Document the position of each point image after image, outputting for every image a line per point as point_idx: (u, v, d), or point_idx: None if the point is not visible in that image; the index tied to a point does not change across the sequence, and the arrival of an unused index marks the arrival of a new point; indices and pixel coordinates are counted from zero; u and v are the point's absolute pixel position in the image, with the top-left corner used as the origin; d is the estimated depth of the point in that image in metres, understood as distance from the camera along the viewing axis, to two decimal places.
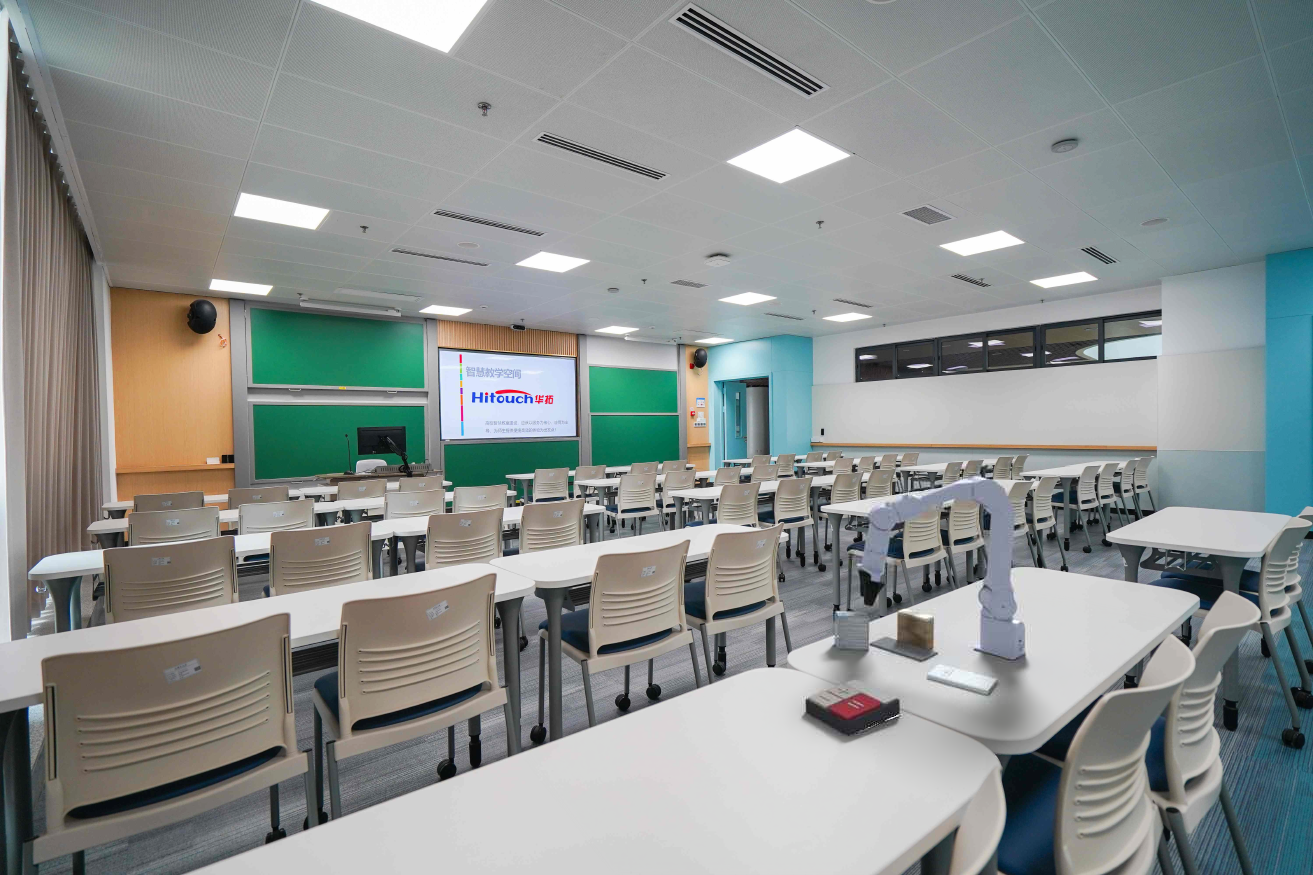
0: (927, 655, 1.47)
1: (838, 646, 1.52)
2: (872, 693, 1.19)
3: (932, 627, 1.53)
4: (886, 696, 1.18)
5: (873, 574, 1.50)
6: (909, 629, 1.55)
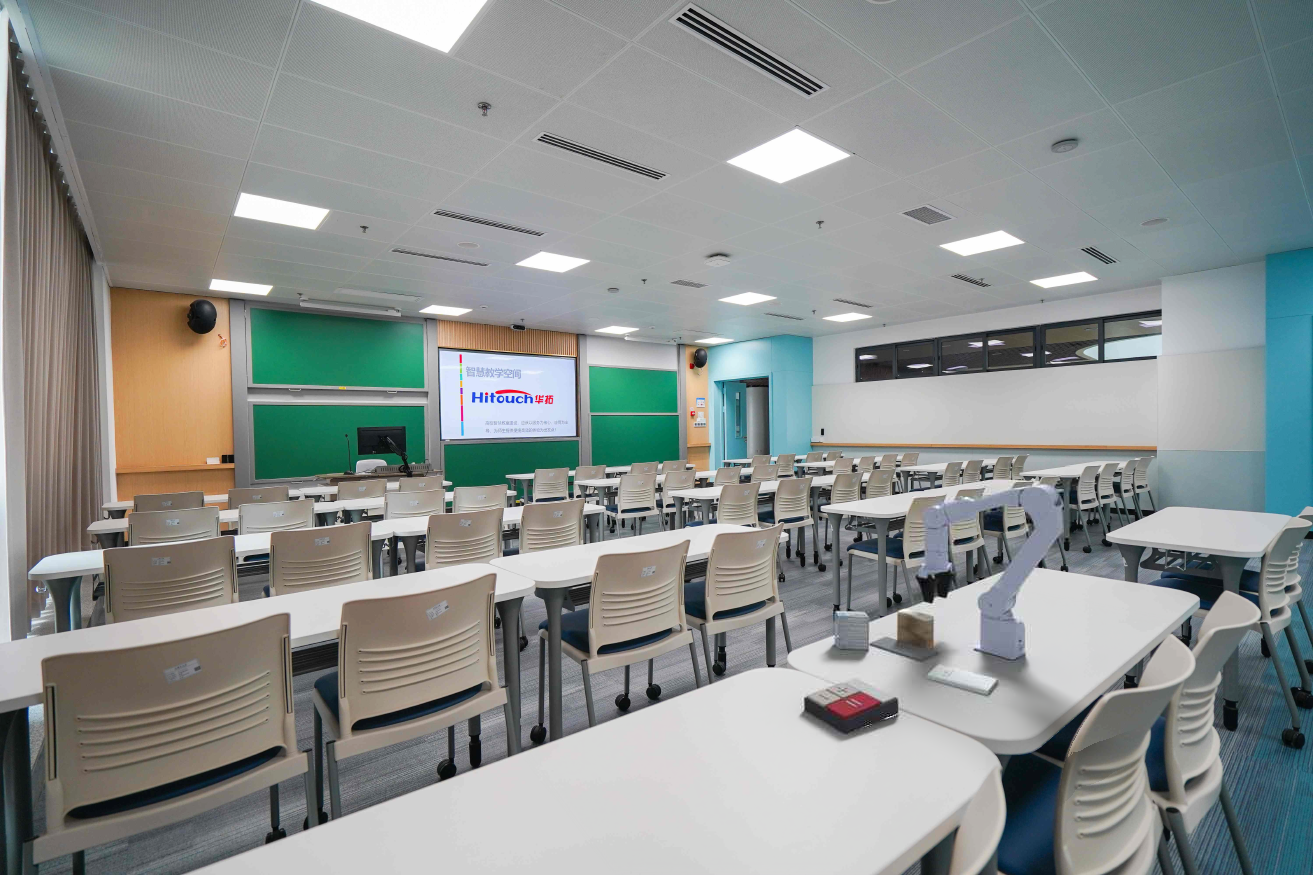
0: (927, 655, 1.47)
1: (838, 646, 1.52)
2: (871, 692, 1.20)
3: (932, 627, 1.53)
4: (885, 695, 1.18)
5: (919, 570, 1.58)
6: (909, 629, 1.55)
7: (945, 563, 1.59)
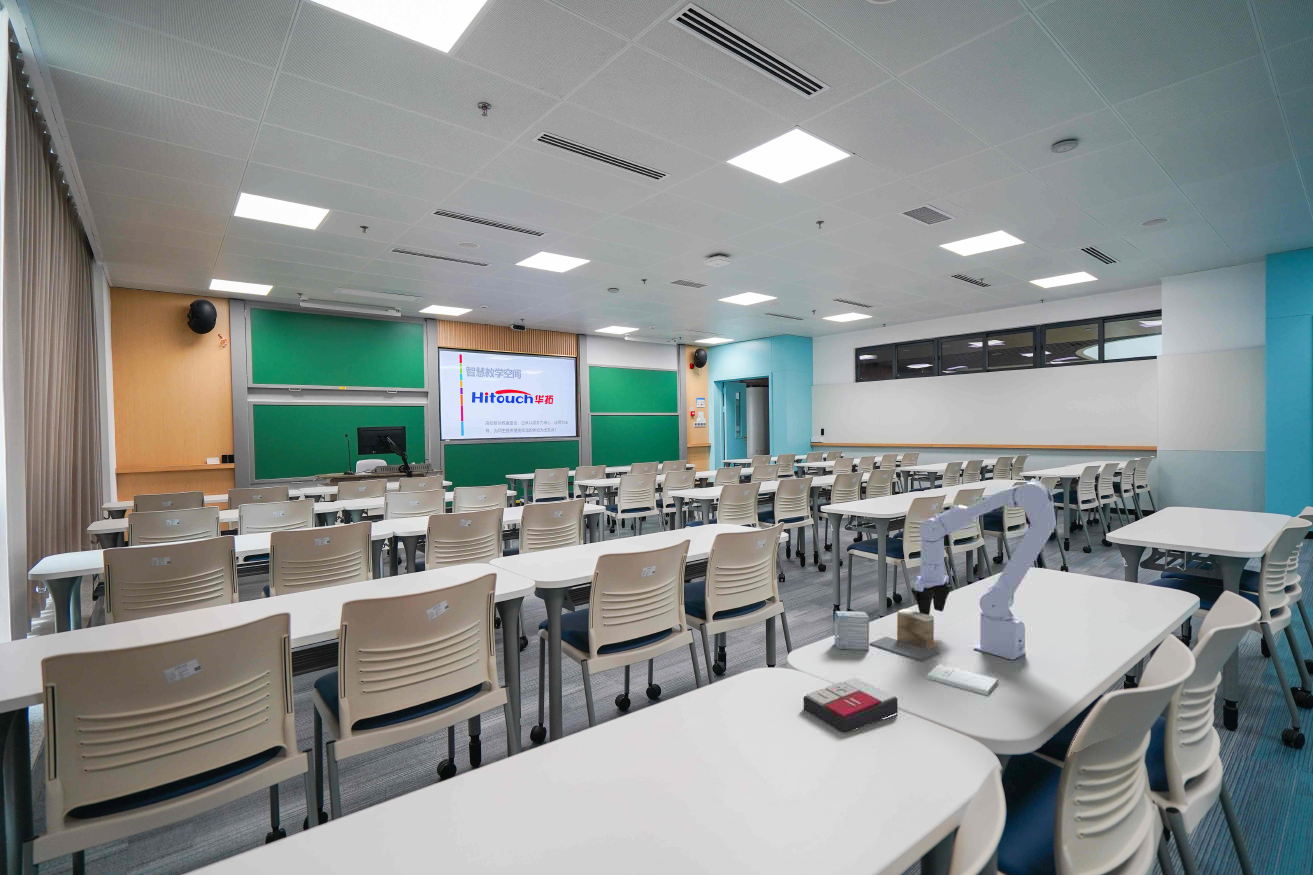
0: (927, 655, 1.47)
1: (838, 646, 1.52)
2: (870, 691, 1.20)
3: (932, 627, 1.53)
4: (884, 694, 1.18)
5: (915, 584, 1.57)
6: (909, 629, 1.55)
7: (941, 576, 1.58)
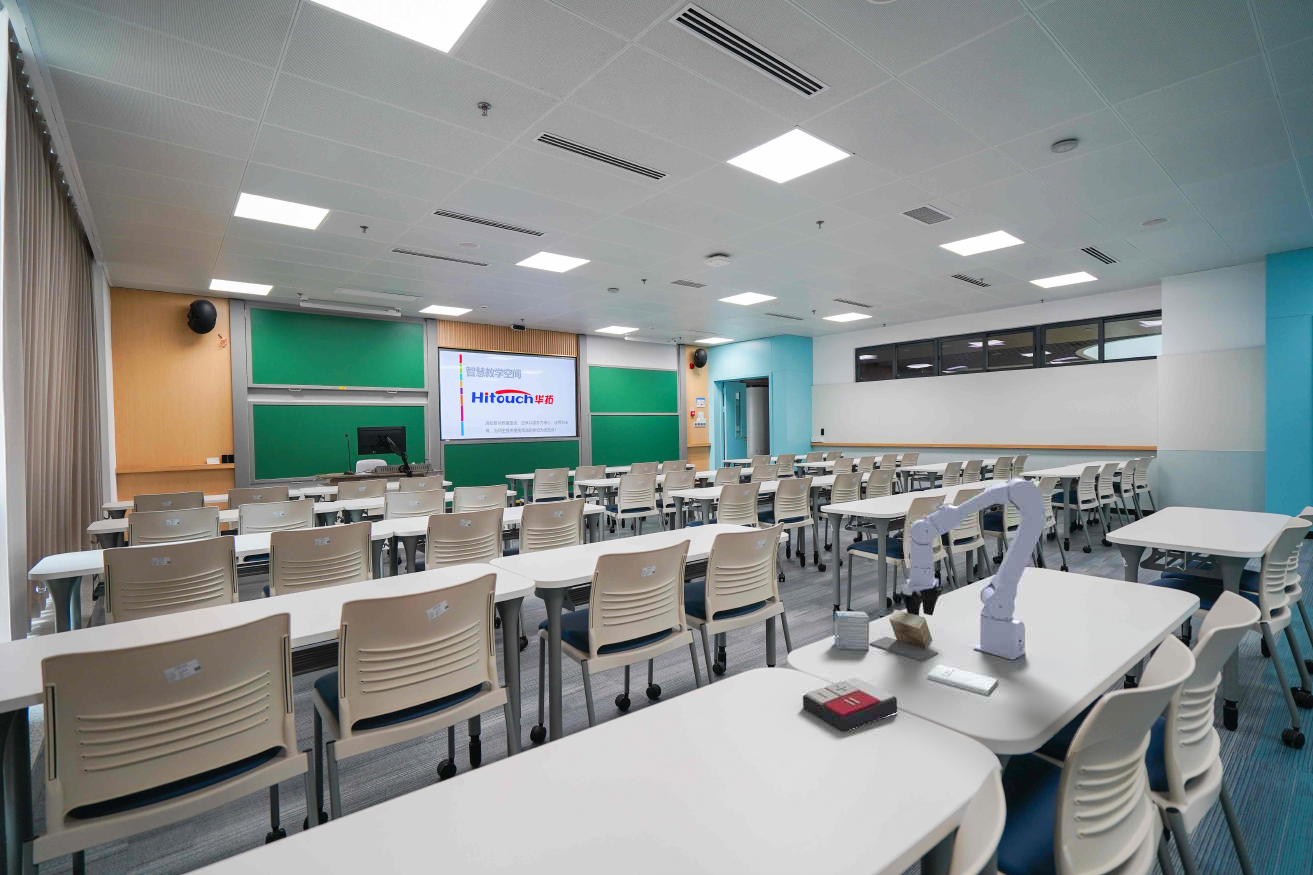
0: (927, 655, 1.47)
1: (838, 646, 1.52)
2: (870, 691, 1.20)
3: (926, 627, 1.51)
4: (884, 694, 1.19)
5: (904, 587, 1.53)
6: (905, 633, 1.54)
7: (930, 579, 1.55)
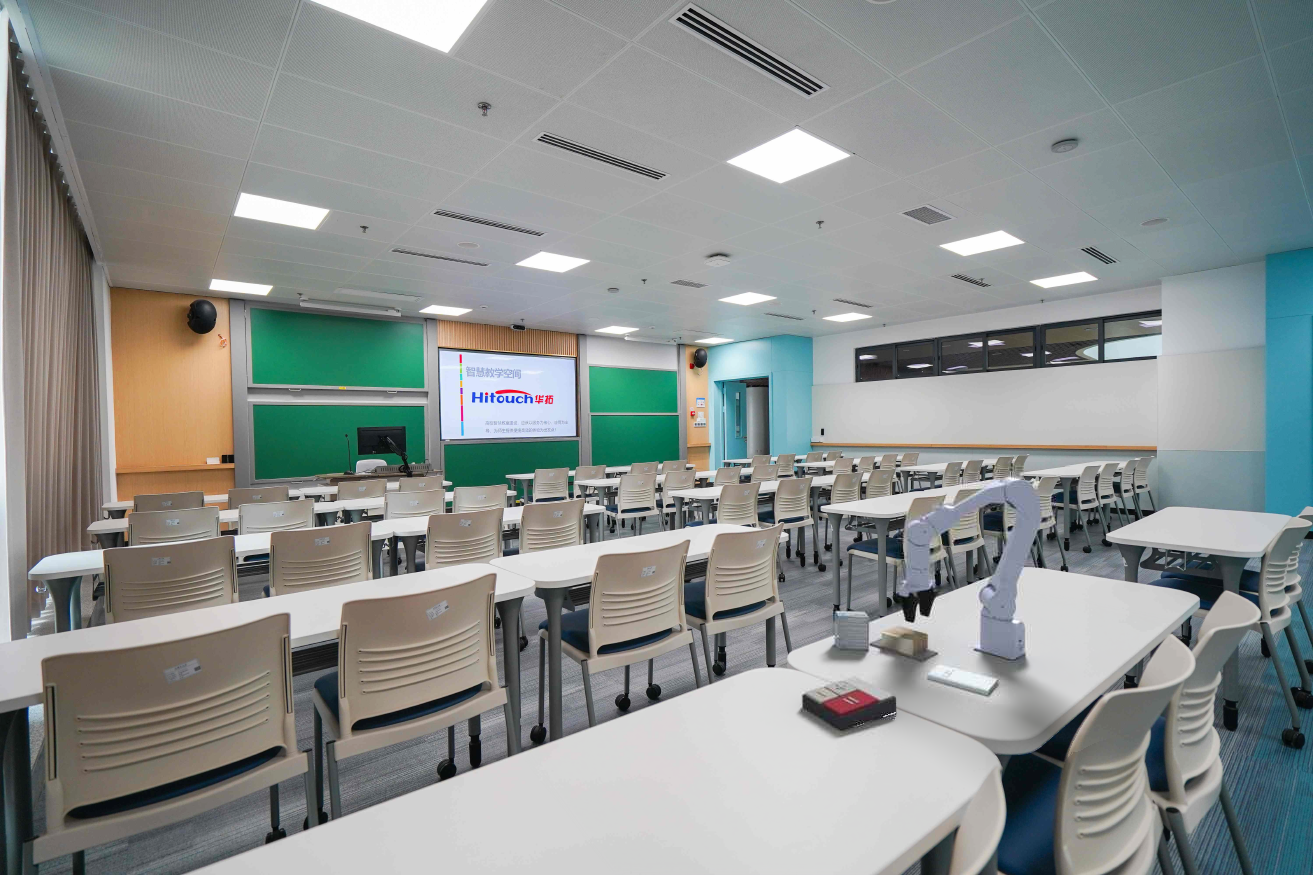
0: (927, 655, 1.47)
1: (838, 646, 1.52)
2: (869, 690, 1.21)
3: (917, 641, 1.49)
4: (883, 693, 1.19)
5: (900, 589, 1.52)
6: None
7: (927, 581, 1.53)
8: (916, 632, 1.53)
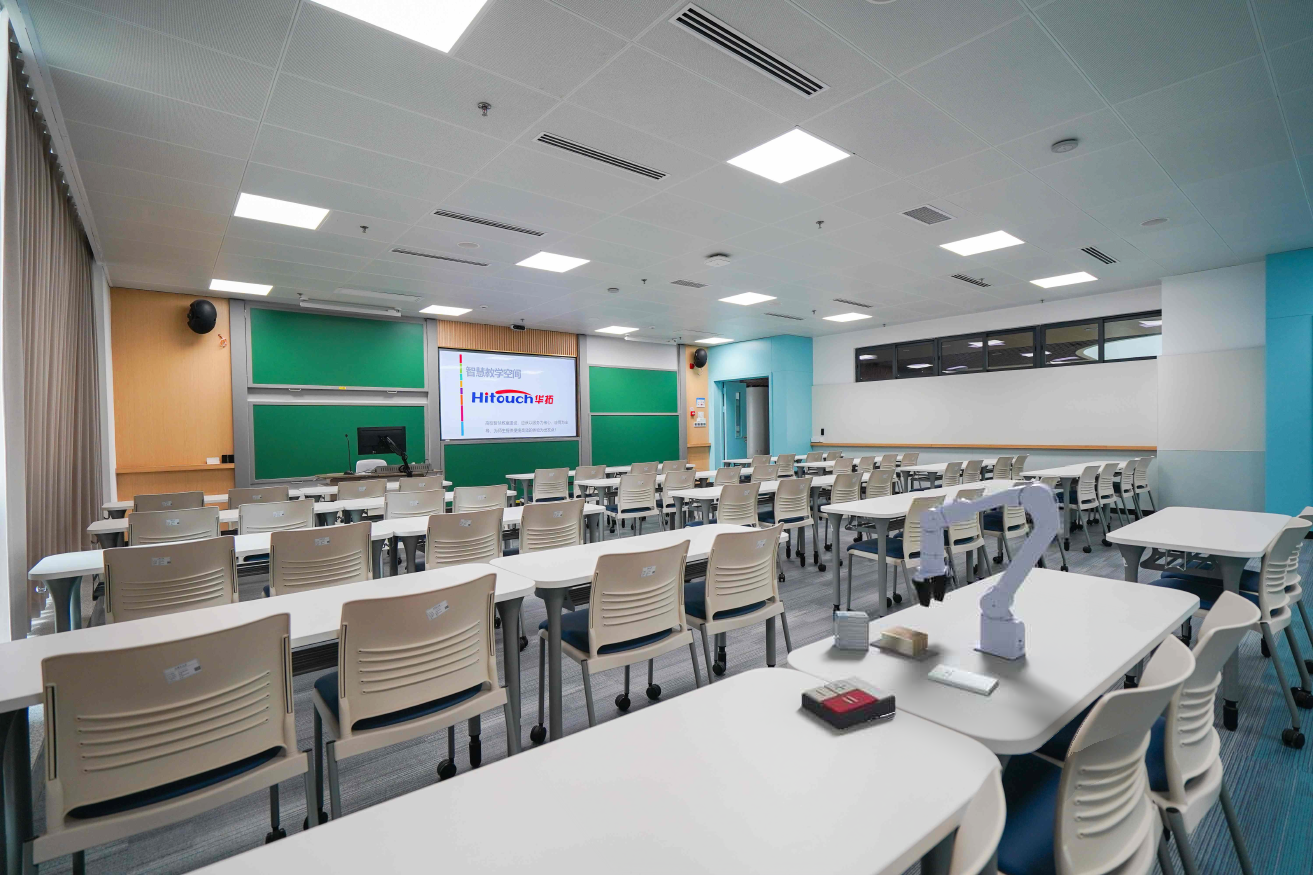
0: (927, 655, 1.47)
1: (838, 646, 1.52)
2: (868, 689, 1.21)
3: (917, 641, 1.49)
4: (882, 693, 1.19)
5: (915, 574, 1.56)
6: None
7: (941, 566, 1.58)
8: (916, 632, 1.53)
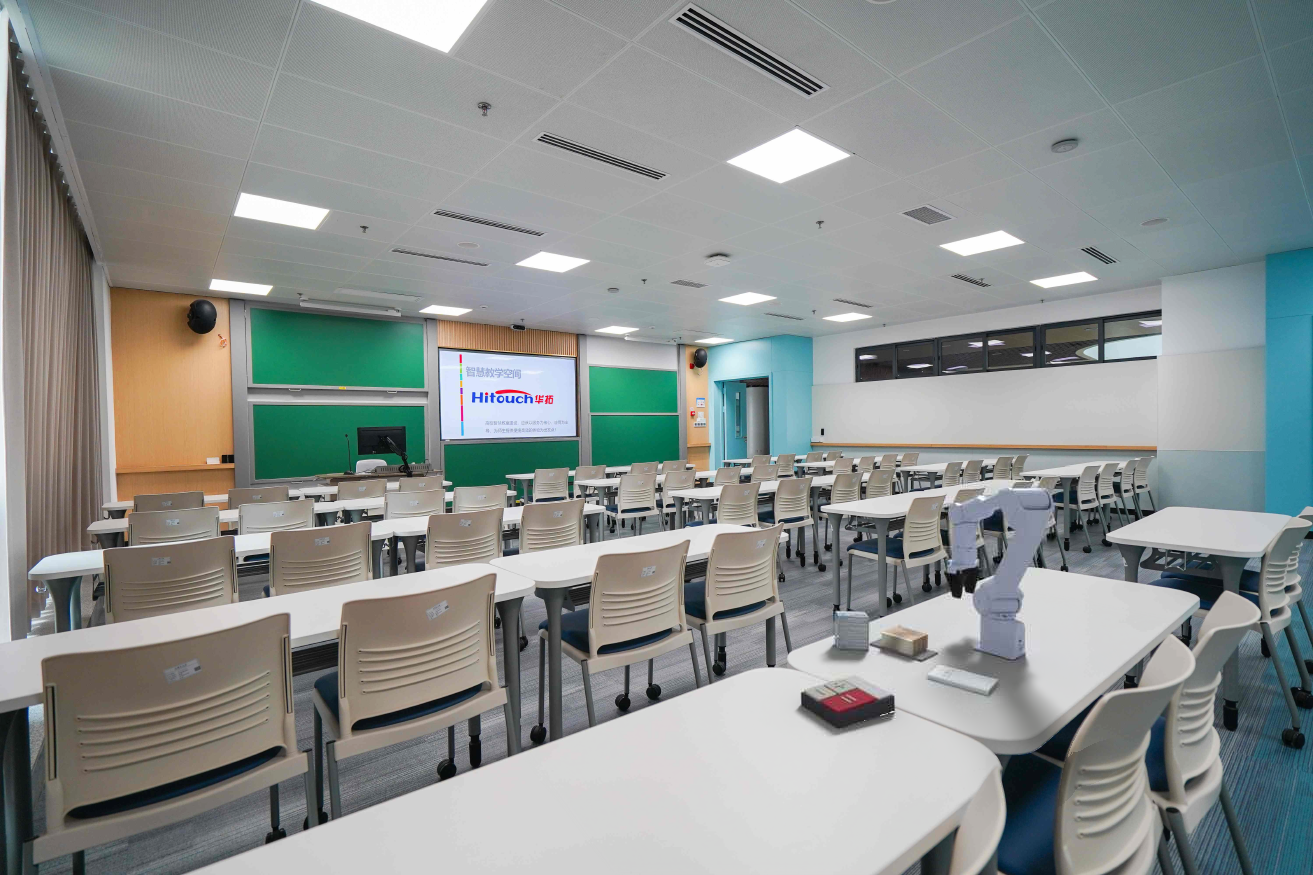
0: (927, 655, 1.47)
1: (838, 646, 1.52)
2: (868, 689, 1.21)
3: (917, 641, 1.49)
4: (881, 692, 1.19)
5: (948, 566, 1.61)
6: None
7: (973, 559, 1.63)
8: (916, 632, 1.53)
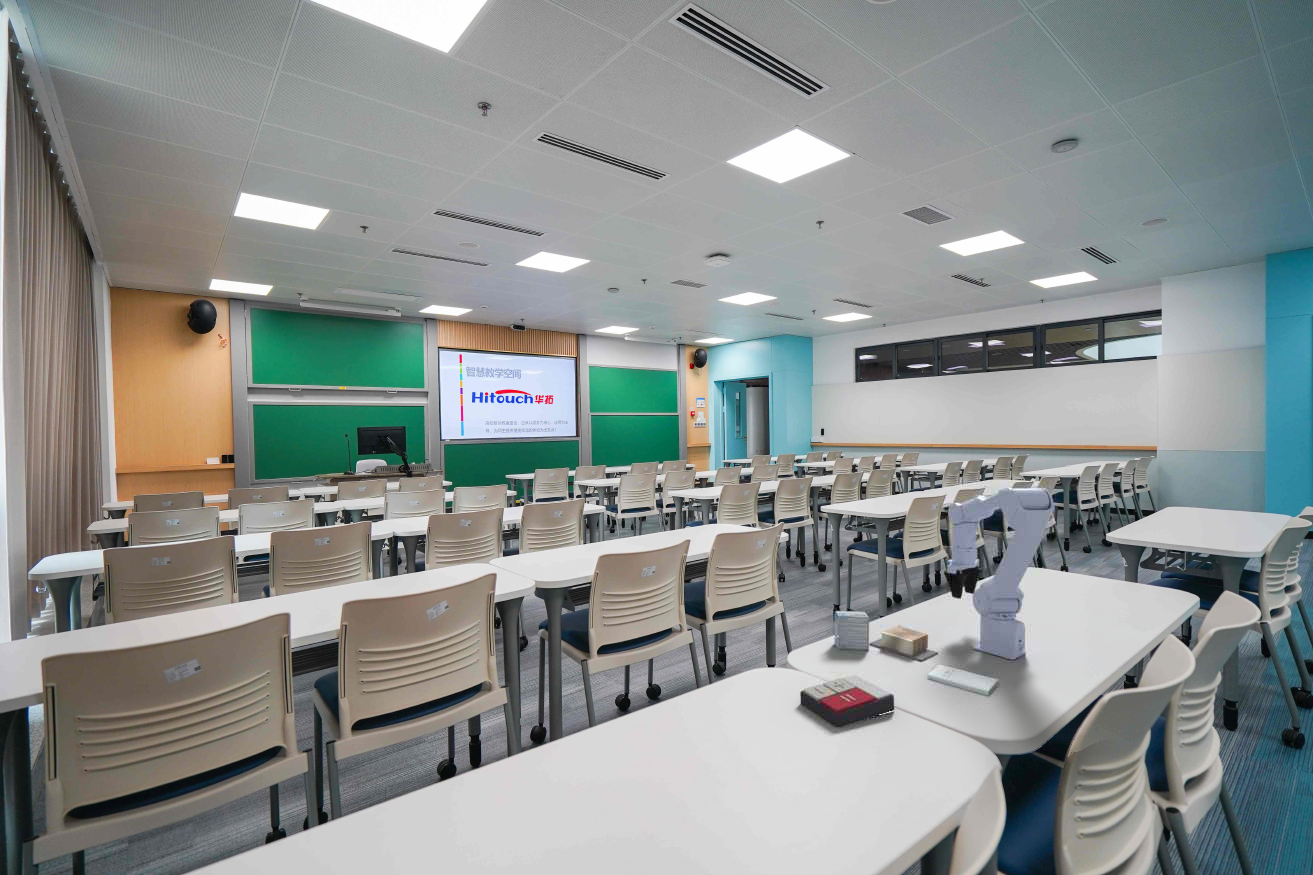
0: (927, 655, 1.47)
1: (838, 646, 1.52)
2: (867, 688, 1.21)
3: (917, 641, 1.49)
4: (881, 691, 1.20)
5: (948, 566, 1.61)
6: None
7: (973, 559, 1.63)
8: (916, 632, 1.53)
